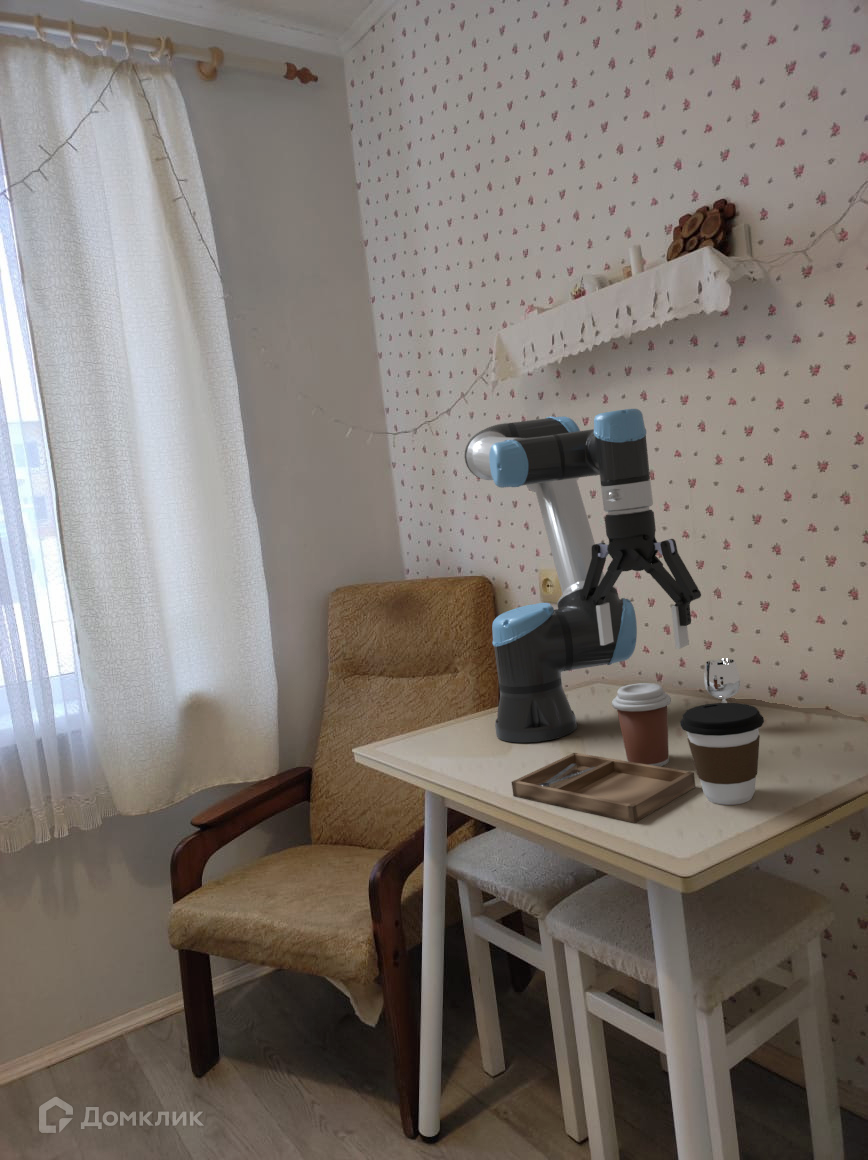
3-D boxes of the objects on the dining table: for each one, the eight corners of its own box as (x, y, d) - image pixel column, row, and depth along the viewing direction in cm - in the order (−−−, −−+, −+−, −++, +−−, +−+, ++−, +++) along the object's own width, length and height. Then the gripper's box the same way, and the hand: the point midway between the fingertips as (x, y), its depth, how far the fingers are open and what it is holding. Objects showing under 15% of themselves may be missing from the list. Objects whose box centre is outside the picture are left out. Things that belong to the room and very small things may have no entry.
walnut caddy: (513, 795, 135) (511, 781, 135) (575, 765, 145) (574, 752, 145) (634, 823, 119) (632, 807, 118) (695, 787, 128) (693, 772, 128)
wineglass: (740, 724, 155) (733, 656, 154) (748, 733, 149) (741, 663, 148) (706, 727, 155) (699, 660, 154) (713, 737, 150) (706, 667, 149)
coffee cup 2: (677, 790, 128) (668, 708, 127) (751, 778, 129) (742, 697, 128) (705, 817, 117) (696, 728, 116) (786, 804, 118) (777, 715, 117)
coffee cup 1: (685, 754, 143) (677, 681, 142) (666, 773, 136) (658, 696, 135) (631, 751, 148) (623, 680, 147) (610, 769, 141) (601, 695, 140)
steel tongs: (553, 796, 131) (553, 789, 131) (528, 790, 135) (527, 783, 135) (598, 773, 138) (597, 766, 138) (573, 769, 142) (572, 762, 142)
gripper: (549, 519, 144) (565, 647, 147) (689, 507, 127) (704, 653, 129) (576, 513, 150) (591, 637, 152) (715, 501, 132) (729, 642, 134)
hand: (643, 645), depth 140 cm, fingers open, 13 cm apart
